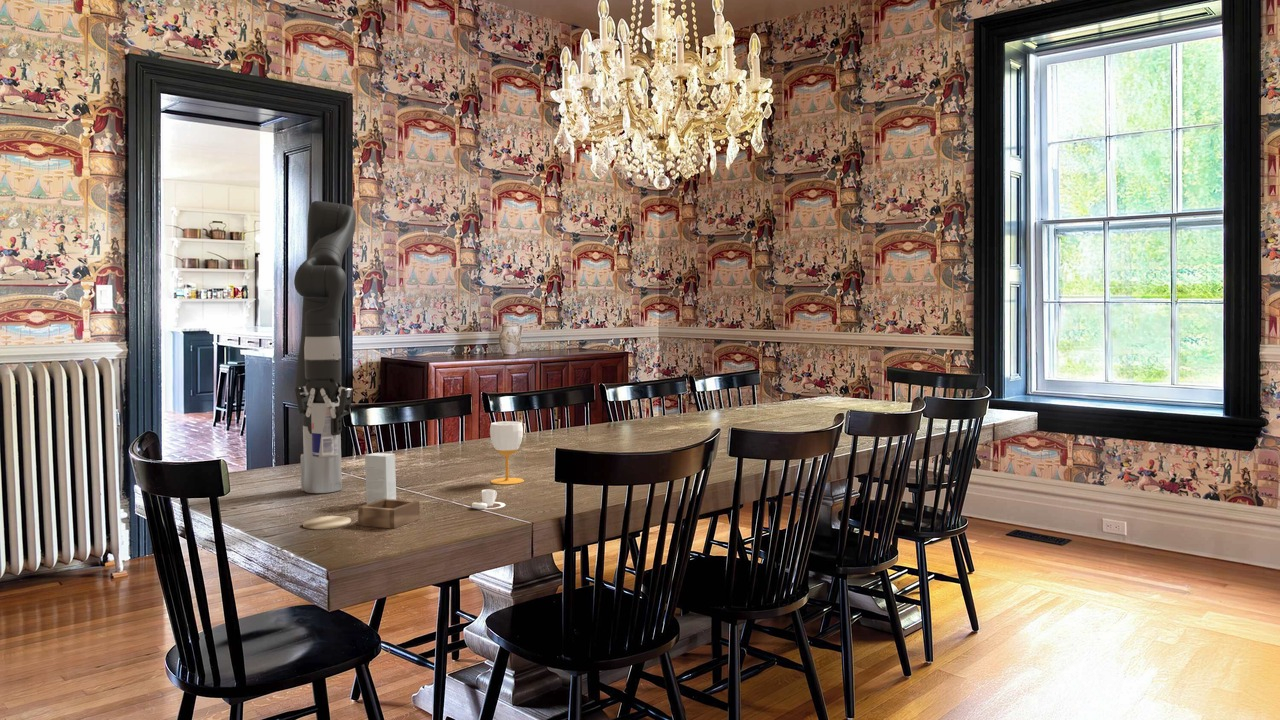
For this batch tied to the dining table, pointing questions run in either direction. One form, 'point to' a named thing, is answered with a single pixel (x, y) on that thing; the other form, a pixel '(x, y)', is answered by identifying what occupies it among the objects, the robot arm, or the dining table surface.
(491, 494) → the teacup and saucer
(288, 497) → the dining table surface
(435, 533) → the dining table surface
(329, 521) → the cork coaster
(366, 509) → the walnut holder
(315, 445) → the energy drink
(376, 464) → the skincare box
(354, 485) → the dining table surface
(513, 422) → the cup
